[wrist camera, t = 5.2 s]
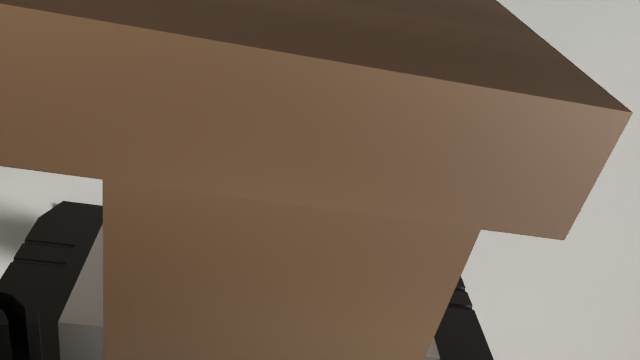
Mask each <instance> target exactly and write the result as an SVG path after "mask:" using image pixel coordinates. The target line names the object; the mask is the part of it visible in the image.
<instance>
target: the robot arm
mask: <svg viewBox="0 0 640 360" xmlns="http://www.w3.org/2000/svg"><path fill="white" fill-rule="evenodd" d="M0 360H103V206H99V205H91V204H83V203H75V202H67V201H62V202H61V203H60V204H58V205H57V206H55V207H54V208H52V209H51V210H49V211H48V212H46V213H45V214H43V215H42V216H41V217H39V218H38V220H37V221H36V223H35V224H34V226H33V228H32V229H31V231H30V233H29V234H28V236H27V237H26V239H25V243H24V244H22V245H21V247H20V249H19V250H18V252H17V253H16V255H15V257H14V261H13V262H11V263H10V265H9V266H8V268H7V269H6V271H5V273H4V274H3V276H2V277H1V279H0ZM424 360H493V357H492V354H491V352H490V349H489V347H488V344H487V342H486V339H485V337H484V334H483V332H482V329H481V326H480V324H479V321H478V319H477V316H476V314H475V311H474V310H472V303H471V301H470V298H469V296H468V293H467V292H465V286H464V283H463V281H462V278H461V276H460V279H459V281H458V283H457V285H456V288H455V290H454V292H453V295H452V297H451V299H450V302H449V304H448V306H447V308H446V311H445V313H444V315H443V318H442V320H441V322H440V325H439V327H438V329H437V332H436V334H435V336H434V338H433V341H432V343H431V345H430V348H429V350H428V352H427V355H426V357H425V359H424Z"/></svg>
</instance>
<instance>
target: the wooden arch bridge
mask: <svg viewBox="0 0 640 360" xmlns="http://www.w3.org/2000/svg"><path fill="white" fill-rule="evenodd" d="M632 113H633V112H631V111H630V110H629V109H628V108H626V107H625V106H624V105H623V104H622V103H620V102H619V101H618V100H617V99H615V98H614V97H613V96H612V95H611V94H609V93H608V92H607V91H606V90H605V89H603V88H602V87H601V86H600V85H598V84H597V83H596V82H595V81H594V80H592V79H591V78H590V77H589V76H588V75H586V74H585V73H584V72H583V71H581V70H580V69H579V68H578V67H577V66H575V65H574V64H573V63H572V62H571V61H569V60H568V59H567V58H566V57H564V56H563V55H562V54H561V53H560V52H558V51H557V50H556V49H555V48H554V47H552V46H551V45H550V44H549V43H547V42H546V41H545V40H544V39H543V38H541V37H540V36H539V35H538V34H537V33H535V32H534V31H533V30H532V29H530V28H529V27H528V26H527V25H526V24H524V23H523V22H522V21H521V20H520V19H518V18H517V17H516V16H515V15H513V14H512V13H511V12H510V11H509V10H507V9H506V8H505V7H504V6H503V5H501V4H500V3H499V2H498V1H496V0H0V166H4V167H12V168H19V169H27V170H35V171H42V172H50V173H57V174H65V175H72V176H80V177H88V178H95V179H103V360H424V359H425V357H426V355H427V352H428V350H429V348H430V345H431V343H432V341H433V338H434V336H435V334H436V332H437V329H438V327H439V325H440V322H441V320H442V318H443V315H444V313H445V311H446V308H447V306H448V304H449V302H450V299H451V297H452V295H453V292H454V290H455V288H456V285H457V283H458V281H459V279H460V276H461V274H462V272H463V269H464V267H465V265H466V262H467V260H468V258H469V255H470V253H471V251H472V249H473V246H474V244H475V242H476V239H477V237H478V235H479V232H480V230H481V229H482V230H490V231H497V232H505V233H512V234H520V235H528V236H535V237H543V238H550V239H558V240H565V238H566V236H567V234H568V232H569V230H570V228H571V227H572V225H573V223H574V221H575V219H576V217H577V215H578V214H579V212H580V210H581V208H582V206H583V204H584V202H585V201H586V199H587V197H588V195H589V193H590V191H591V189H592V188H593V186H594V184H595V182H596V180H597V178H598V176H599V175H600V173H601V171H602V169H603V167H604V165H605V163H606V161H607V160H608V158H609V156H610V154H611V152H612V150H613V148H614V147H615V145H616V143H617V141H618V139H619V137H620V135H621V134H622V132H623V130H624V128H625V126H626V124H627V122H628V121H629V119H630V117H631V115H632Z"/></svg>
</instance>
